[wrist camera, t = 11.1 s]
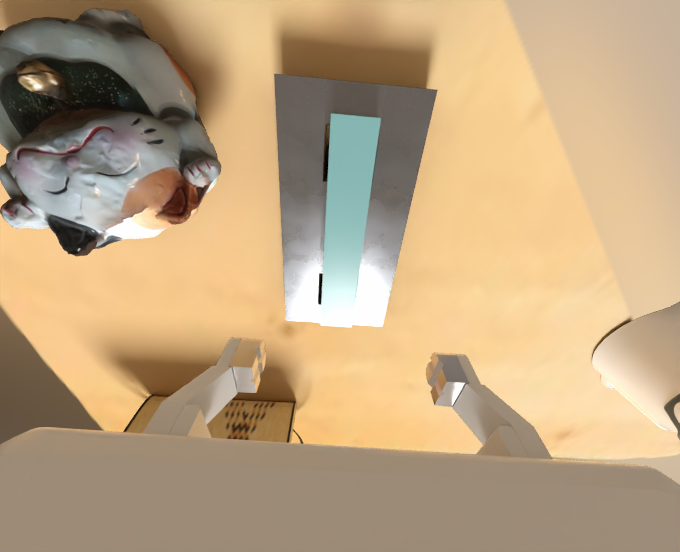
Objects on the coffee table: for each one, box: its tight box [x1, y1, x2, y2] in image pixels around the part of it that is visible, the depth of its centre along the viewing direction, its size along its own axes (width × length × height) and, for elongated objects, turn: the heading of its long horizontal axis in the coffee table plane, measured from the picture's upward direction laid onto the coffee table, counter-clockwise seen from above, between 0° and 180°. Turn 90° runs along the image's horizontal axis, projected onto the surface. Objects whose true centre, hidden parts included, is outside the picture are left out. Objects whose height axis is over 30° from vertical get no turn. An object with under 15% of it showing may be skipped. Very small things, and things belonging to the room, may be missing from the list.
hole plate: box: [274, 74, 437, 326], centre depth 26 cm, size 12×24×3 cm, turn 175°
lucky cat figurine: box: [0, 8, 221, 256], centre depth 19 cm, size 15×12×14 cm
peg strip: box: [320, 113, 381, 327], centre depth 25 cm, size 4×20×5 cm, turn 176°
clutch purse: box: [123, 395, 303, 444], centre depth 41 cm, size 30×7×15 cm, turn 86°
